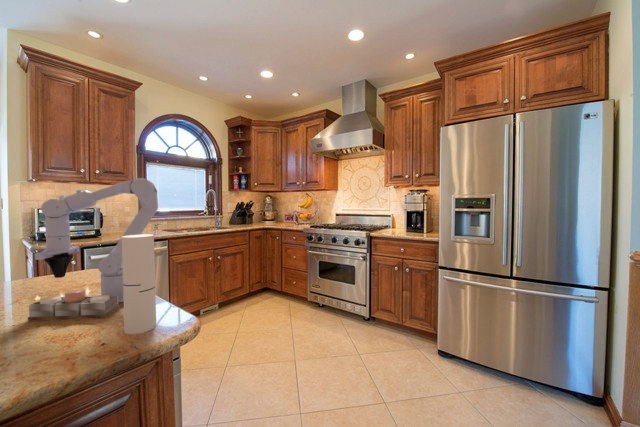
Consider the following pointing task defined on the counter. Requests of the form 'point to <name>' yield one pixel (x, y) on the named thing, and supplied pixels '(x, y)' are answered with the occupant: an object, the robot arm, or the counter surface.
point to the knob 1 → (50, 300)
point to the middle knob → (75, 296)
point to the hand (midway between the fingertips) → (59, 277)
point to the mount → (73, 309)
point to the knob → (99, 298)
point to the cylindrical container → (138, 283)
